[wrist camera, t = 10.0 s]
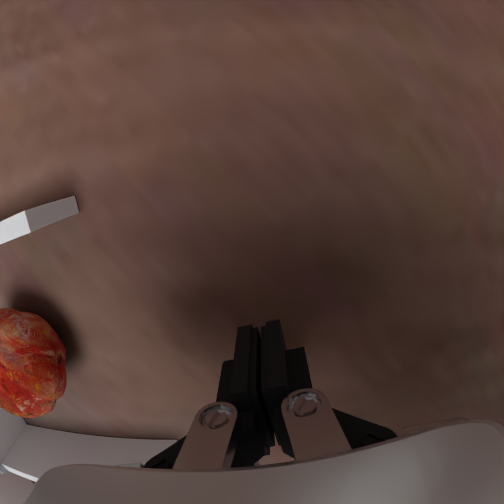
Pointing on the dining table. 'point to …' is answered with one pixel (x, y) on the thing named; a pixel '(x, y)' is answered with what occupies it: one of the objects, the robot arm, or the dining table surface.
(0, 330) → the pomegranate
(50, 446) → the box
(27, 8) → the dining table surface
